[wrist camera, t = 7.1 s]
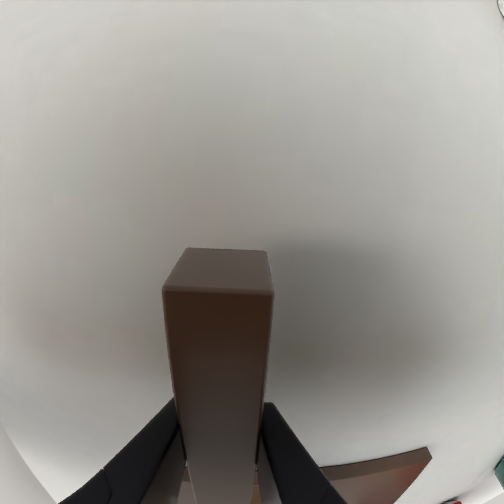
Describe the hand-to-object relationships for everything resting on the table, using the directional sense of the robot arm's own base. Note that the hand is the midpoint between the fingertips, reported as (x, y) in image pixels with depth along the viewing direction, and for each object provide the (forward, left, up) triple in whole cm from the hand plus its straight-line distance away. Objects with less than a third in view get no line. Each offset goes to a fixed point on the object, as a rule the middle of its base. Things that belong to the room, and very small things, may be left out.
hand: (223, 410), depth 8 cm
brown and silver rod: (0, -6, -1) cm, 6 cm away
